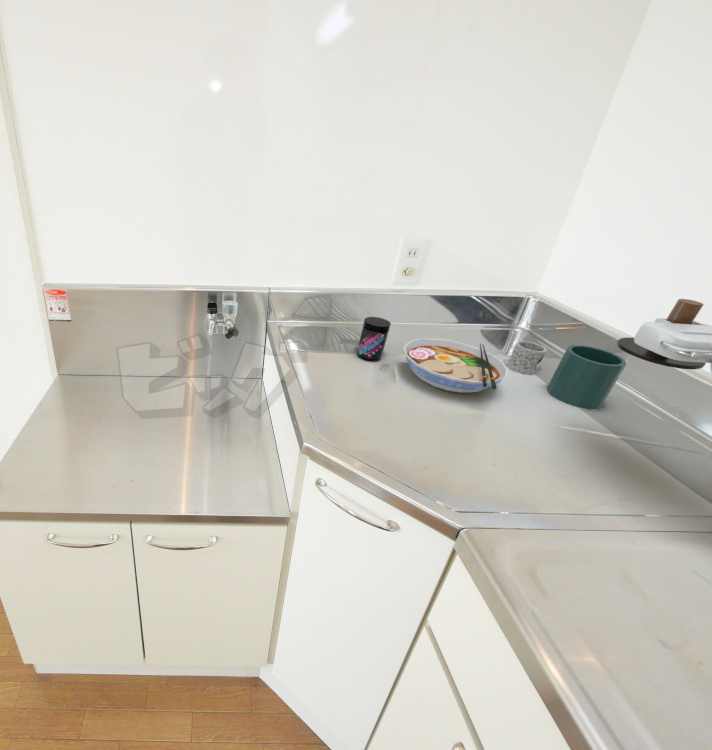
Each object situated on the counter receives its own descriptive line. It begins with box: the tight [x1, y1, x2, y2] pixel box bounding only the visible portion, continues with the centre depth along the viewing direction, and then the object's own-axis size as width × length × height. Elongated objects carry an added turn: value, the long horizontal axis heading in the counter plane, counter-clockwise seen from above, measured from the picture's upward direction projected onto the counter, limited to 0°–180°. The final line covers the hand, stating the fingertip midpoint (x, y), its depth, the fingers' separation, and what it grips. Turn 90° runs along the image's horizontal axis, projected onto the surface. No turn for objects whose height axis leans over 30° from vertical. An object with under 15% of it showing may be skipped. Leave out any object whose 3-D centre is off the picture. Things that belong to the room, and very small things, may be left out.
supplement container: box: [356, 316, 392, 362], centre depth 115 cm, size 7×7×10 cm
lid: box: [616, 298, 707, 370], centre depth 72 cm, size 11×11×10 cm
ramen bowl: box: [403, 337, 509, 394], centre depth 103 cm, size 25×23×8 cm
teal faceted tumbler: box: [546, 344, 627, 410], centre depth 97 cm, size 10×10×12 cm
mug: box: [506, 340, 547, 375], centre depth 114 cm, size 10×7×7 cm, turn 162°
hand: (671, 323), depth 72 cm, fingers closed on lid, 3 cm apart
